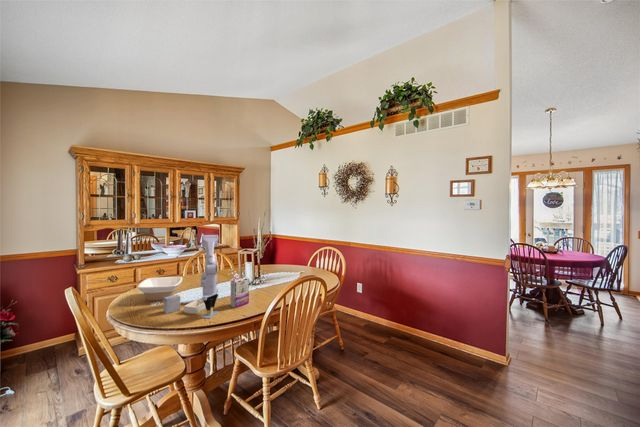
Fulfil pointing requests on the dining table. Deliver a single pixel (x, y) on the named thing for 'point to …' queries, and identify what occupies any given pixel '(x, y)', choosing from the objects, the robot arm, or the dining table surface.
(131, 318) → the dining table surface
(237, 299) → the candy bar box
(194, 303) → the box
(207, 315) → the lid
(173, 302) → the medicine box
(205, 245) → the robot arm
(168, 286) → the bowl
